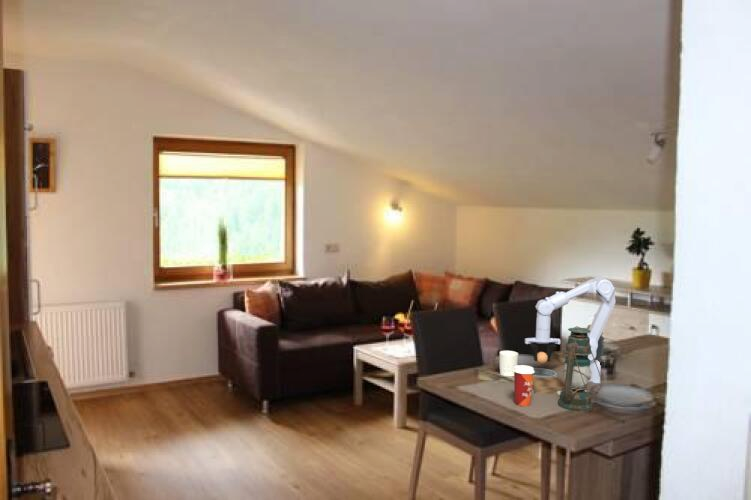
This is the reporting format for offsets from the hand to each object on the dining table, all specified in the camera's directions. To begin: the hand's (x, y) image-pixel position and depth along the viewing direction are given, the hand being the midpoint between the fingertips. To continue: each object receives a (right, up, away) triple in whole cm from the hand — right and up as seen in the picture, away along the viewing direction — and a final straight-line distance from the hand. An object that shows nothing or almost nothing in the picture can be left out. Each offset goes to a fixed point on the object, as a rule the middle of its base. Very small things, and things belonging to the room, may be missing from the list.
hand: (541, 360), depth 280 cm
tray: (-1, -9, -12) cm, 15 cm away
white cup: (-13, -8, +4) cm, 16 cm away
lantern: (+5, -12, -33) cm, 35 cm away
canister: (+29, -6, +29) cm, 41 cm away
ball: (0, -1, 0) cm, 1 cm away
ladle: (+8, -10, -18) cm, 22 cm away
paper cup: (-15, -11, -32) cm, 37 cm away
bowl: (0, -8, +1) cm, 8 cm away
